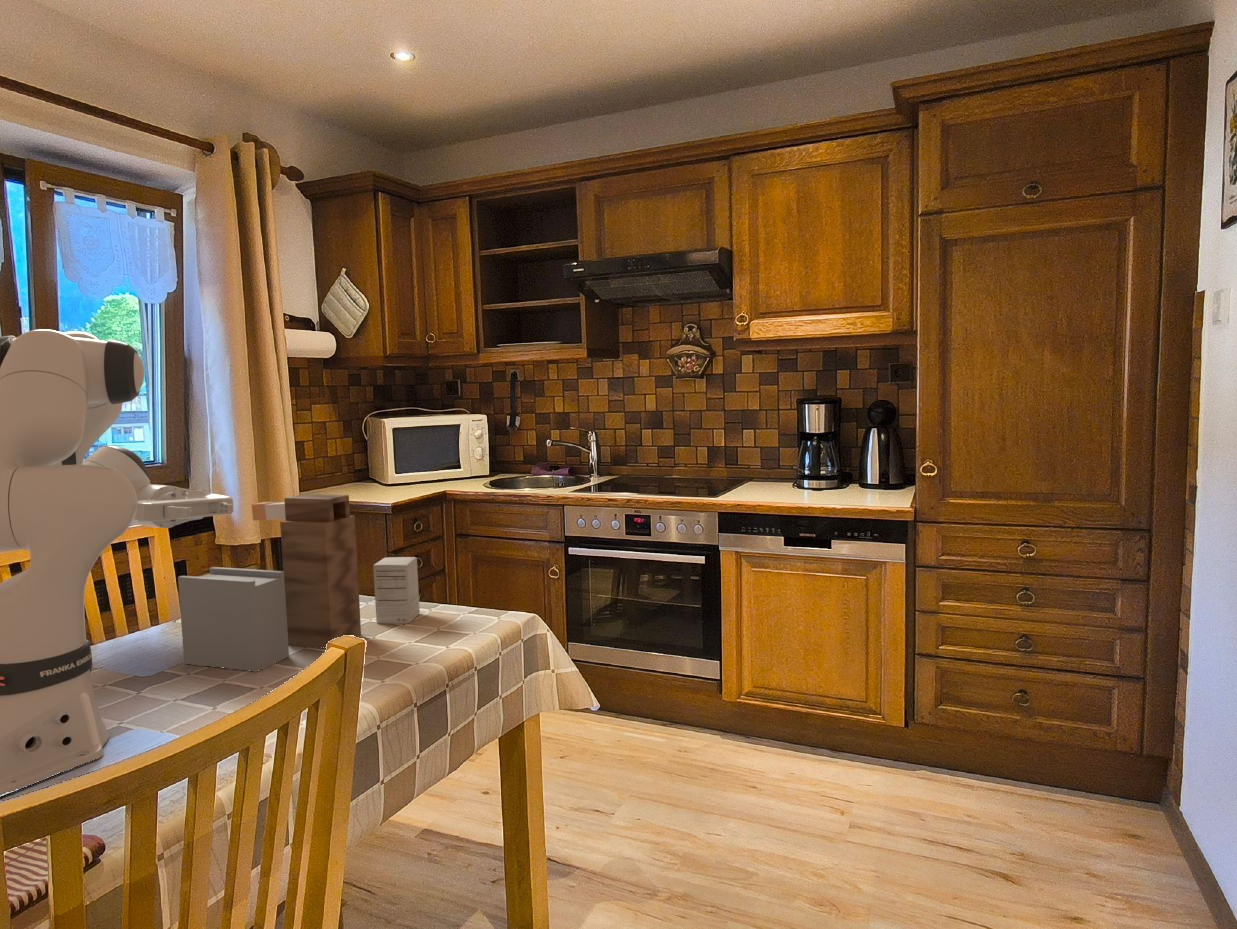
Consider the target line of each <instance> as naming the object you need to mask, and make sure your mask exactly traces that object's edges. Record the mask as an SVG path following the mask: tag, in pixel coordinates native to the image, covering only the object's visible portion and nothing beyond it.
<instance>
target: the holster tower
mask: <svg viewBox="0 0 1237 929" xmlns="http://www.w3.org/2000/svg"><path fill="white" fill-rule="evenodd" d="M283 499H284V502H285V516H286V519H285V520H281V521H280V522H279V524H280V526H279V527H280V528H279V529H280V539H281V554H282V556H281V557H282V558H281V560H282V571H284V582H285V598H286V614H287V629H288V644H289V646H292V645H294V647H302V648H313V647H318V648H317V649H323V647H324V649H325V647H326V644H327V643H328V641H330V640H332V639H334V638H337V637H341V636H343V635H354V636H357V637H359V636H361V635H362V623H361V622H362V621H361V607H360V605H361V604H360V591H359V590H360V589H359V587H360V584H359V568H358V553H357V552H358V551H357V548H358V547H357V530H356V517H355V515H351V513H350V512H351V511H350V510H351V509H350V495H349V494H326V493H325V494H324V493H323V494H322V493H321V494H320V493H303V494H300V495H299V494H298V495H294V496H288V497H284V498H283ZM360 634H361V635H360ZM321 647H322V648H321ZM325 650H326V649H325Z"/></svg>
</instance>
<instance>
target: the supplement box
mask: <svg viewBox="0 0 1237 929" xmlns="http://www.w3.org/2000/svg"><path fill="white" fill-rule="evenodd" d="M372 565H373V568H372V569H373V581H374V582H373V583H374V584H373V585H374V601H375V616H376V617H375V618H376V620H375V621H376V623H377V624H411V622H412V621H413V620H414V619H415V618H416V617H417V616H418V615H419V614H420V597H419V596H420V595H419V594H420V592H419V578H418V577H419V576H418V573H419V572H418V558H417V557H415V556H398V557H397V556H396V557H395V556H393V557H392V556H391V557H383V558H382V559H381V560H379V561H377V562H376V563H374V564H372Z"/></svg>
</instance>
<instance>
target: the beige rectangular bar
mask: <svg viewBox="0 0 1237 929" xmlns="http://www.w3.org/2000/svg"><path fill="white" fill-rule="evenodd" d="M250 505H251V512H252V521H255V522H256V521H273V520H274V521H277V520H281V521H283V520H286V516H285V501H283V502H282V501H281V502H277V501H262V502H261V501H260V502H257V503H253V504H250Z"/></svg>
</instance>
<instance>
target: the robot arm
mask: <svg viewBox="0 0 1237 929" xmlns="http://www.w3.org/2000/svg"><path fill="white" fill-rule="evenodd" d="M144 380H145V367H144V364H143V361H142V360H141V356H140V355H139V353H138V350H136V349H135V348H134V347H133V346H132V345H130V344H129V343H126V342H123V341H119V340H114V339H108V340H107V341H105V340H100V339H99V338H98V337H96V336H94V335H92V334H90V333H87V332H84V331H83V332H82V331H72V330H71V331H66V332H61V331H57V330H54V329H43V328H41V329H32V330H29V331H26V332H24V333H22V334H20V335H18V336H17V337H16V336H15V335H3V336H0V552H11V551H18V550H19V551H20V550H21V551H22V550H24V551H29V556H30V557H29V560H30V561H29V564H28V567H27V569H25V570H23V571H22V572H19V573H17V574H15V575H13V576H11V577H9V578H7V579H5V580H3V581H1V582H0V795H2V794H5V793H6V792H11V791H15V790H16V789H20V788H23V787H25V786H28V785H29V784H33V783H35V782H37V781H41V780H44V779H45V778H47V777H50V776H52V775H55V774H57V773H59V772H63V771H66V772H68V771H69V770H68V769H71V768H73V769H75V768H74V767H76V766H78V767H80V766H79V765H81V766H83V765H85V764H84V763H86V764H88V763H91V762H93V761H95V759H96V760H98V759H100V758H101V757H103V755H104V749H103V747H104V746H105V744H106V743H107V742H108V741H109V738H110V733H109V731H108V729H107V727H106V725H105V723H104V721H103V718H102V716H101V713H100V709H99V706H98V703H97V700H96V699H97V698H96V696H95V691H94V687H93V682H92V675H91V673H92V667H93V656H92V654H93V653H92V647H91V642H90V641H89V640H88V639H87V635H86V634H87V633H86V621H85V620H86V619H85V618H86V617H85V615H86V614H85V596H86V595H85V594H86V587H87V582H88V579H89V576H90V573H91V571H92V569H93V566H94V565H95V563H96V562H97V560H98V558H99V557H100V556H101V554H102V553H103V552H104V551H105V550H106V549H107V548H108V547H109V546H110V545H111V544H112V543H114V541H116V540H117V539H119V538H120V537H122V535H124V534H125V533H126V532H127V530H129V528H130V527H131V526H143V527H148V528H158V529H170V528H173V527H175V526H177V525H181V524H184V523H188V522H191V521H197V520H201V519H204V518H207V517H215V516H216V517H218V516H228V515H229V516H230V515H232V514H233V512H234V500H233V498H232V497H231V496H229V495H228V496H227V495H223V494H217V493H211V492H204V490H203V489H201V488H199V489H198V488H197V489H196V488H182V487H177V486H173V485H165V484H151V482H152V480H151V476H150V473H149V469H148V467H147V466H146V464H145V462H144V461H143V460H142V458H140V456H138V454H137V453H135V452H134V451H132V450H130V449H128V448H125V447H120V446H116V445H102V446H100V447H99V448H97V449H96V450H95V451H94V452H93V453H91V454H90V455H89V456H88V457H87V458H85V457H86V456H87V454H88V452H89V451H90V449H92V447H93V446H94V445H95V444H96V442H97V441H98V440H100V438H101V437H102V436H103V435H104V434H105V433H106V432H107V431H108V430H109V429H110V428H111V427H112V426H113V424H115V422H116V421H117V420H118V418H119V417H120V416H121V415H120V414H121V412H122V409H123V404H124V403H125V404H126V403H129V402H132V401H133V400H135V399H136V398H137V397H138V396H139V395H140V392H141V389H142V386H143V384H144ZM92 760H93V761H92ZM90 761H91V762H90ZM87 762H88V763H87ZM82 764H83V765H82ZM76 768H77V767H76ZM67 770H68V771H67ZM71 770H72V769H71ZM63 773H64V772H63ZM44 781H45V780H44ZM41 782H42V781H41Z"/></svg>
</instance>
